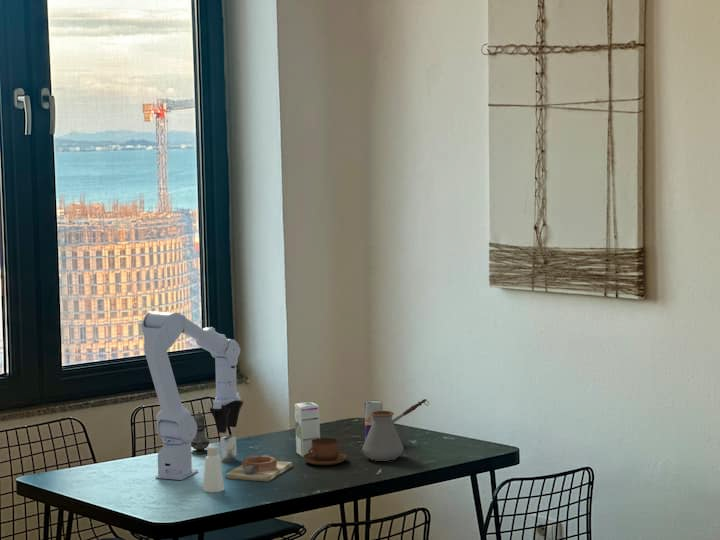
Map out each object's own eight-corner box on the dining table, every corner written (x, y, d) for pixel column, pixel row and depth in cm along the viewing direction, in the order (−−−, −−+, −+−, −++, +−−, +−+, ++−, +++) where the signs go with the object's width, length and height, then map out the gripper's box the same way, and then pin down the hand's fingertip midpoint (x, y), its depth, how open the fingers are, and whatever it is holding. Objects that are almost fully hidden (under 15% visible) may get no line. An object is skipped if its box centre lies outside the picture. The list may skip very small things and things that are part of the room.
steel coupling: (232, 462, 313) (231, 438, 313) (218, 461, 315) (217, 437, 314) (239, 458, 317) (238, 434, 317) (225, 457, 319) (224, 433, 318)
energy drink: (362, 440, 337) (362, 400, 336) (380, 439, 339) (379, 399, 338) (368, 444, 332) (367, 403, 331) (385, 442, 334) (385, 402, 333)
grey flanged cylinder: (200, 455, 322) (198, 414, 321) (185, 453, 325) (184, 412, 324) (214, 451, 326) (213, 410, 325) (200, 449, 330) (199, 408, 329)
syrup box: (321, 455, 319) (320, 404, 318) (301, 457, 317) (300, 406, 316) (314, 451, 325) (313, 401, 324) (295, 453, 323) (293, 403, 322)
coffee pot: (377, 465, 307) (376, 411, 306) (354, 457, 316) (353, 404, 315) (440, 454, 318) (439, 401, 317) (416, 446, 328) (415, 395, 327)
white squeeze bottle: (209, 494, 282) (208, 450, 281) (198, 489, 286) (197, 446, 285) (228, 490, 285) (227, 447, 284) (217, 485, 289) (216, 443, 288)
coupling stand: (267, 481, 293) (267, 468, 292) (225, 478, 297) (225, 465, 296) (292, 466, 308) (291, 454, 307) (251, 463, 312) (251, 451, 311)
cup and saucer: (335, 470, 304) (335, 447, 303) (295, 466, 309) (295, 443, 308) (354, 459, 315) (354, 437, 314) (315, 456, 320) (315, 434, 319)
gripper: (229, 386, 307) (231, 435, 308) (248, 377, 321) (250, 424, 322) (205, 385, 309) (206, 434, 310) (225, 376, 323) (226, 423, 324)
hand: (227, 429), depth 316 cm, fingers open, 7 cm apart
